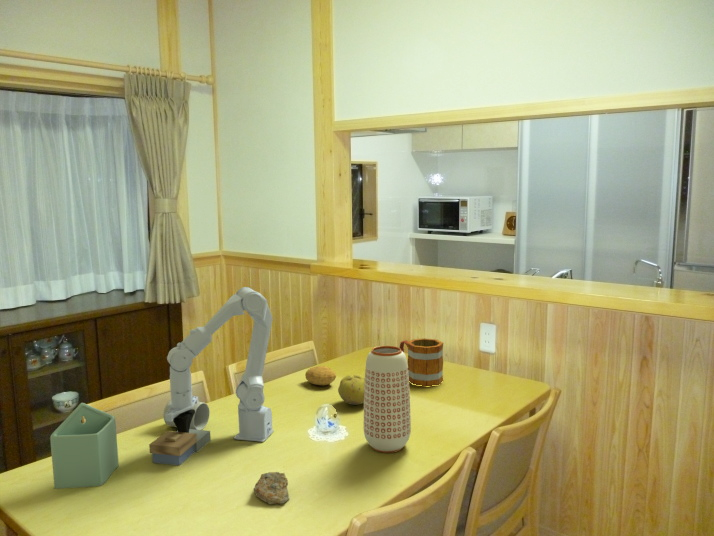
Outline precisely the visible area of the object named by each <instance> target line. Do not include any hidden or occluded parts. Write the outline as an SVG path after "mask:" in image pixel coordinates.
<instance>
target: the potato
mask: <svg viewBox="0 0 714 536" xmlns="http://www.w3.org/2000/svg"><path fill="white" fill-rule="evenodd" d="M305 379H306V380H307V381H308V382H309V383H310V384H313V385H316V386H321V387H322V386H327V385H330V384H332V383H333V382H335V380H336V379H337V374H336V372H335V371H333V370H332V369H331V368H330V367H328V366H325V365H322V366H321V365H320V366H319V365H318V366H312V367H310V368H309V369H307V371H306V372H305Z"/></svg>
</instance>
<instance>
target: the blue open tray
mask: <svg viewBox="0 0 714 536" xmlns="http://www.w3.org/2000/svg"><path fill="white" fill-rule="evenodd" d="M194 453H196V452H195V451H194V445H192V446H191V447H190V448H189V449H188V450H187V451H185V452H184V453H183V454H182V455H181V456H175V455H165V454H155V453H151V456H152V463H155V464H163V465H172V466H180V465H182V464H183V463H184V462H185V461H187V459H189V458H190V457H191V456H192V455H193V454H194Z"/></svg>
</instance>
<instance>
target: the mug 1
mask: <svg viewBox="0 0 714 536" xmlns="http://www.w3.org/2000/svg"><path fill="white" fill-rule="evenodd" d="M170 403H171V399H170V400H168V402H167V403H166V404H165V408H164V410H163V422H164V423H165V424H166V425H167V426H168V427H175V428H176V425H175V423H174V422H173V421H172V422H170V421H165V414H166V413H167V412H168V410H169V407H168V405H169V404H170ZM192 409H194V410H195V414H194V416H193V418H192V421H191V424H190V429H195V430H204V429H205V427H206V426H207V425H208V422H209V420H210V414H211V411H210V407H209V405H208V404H207V403H206V402H202V401H198V403H197V404H194V407H193V408H192Z"/></svg>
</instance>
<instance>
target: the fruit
mask: <svg viewBox="0 0 714 536" xmlns="http://www.w3.org/2000/svg"><path fill="white" fill-rule="evenodd" d="M364 385H365V376H363V375H361V374H357V373H356V374H352V375H351V374H348V375H346V376H344V377H342V379H341V380H340V382H339V386H338V388H337V392H338V395H339V397H340V399H342V400H343V401H344V402H345V403H346V404H349V405H361V404H364Z"/></svg>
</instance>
